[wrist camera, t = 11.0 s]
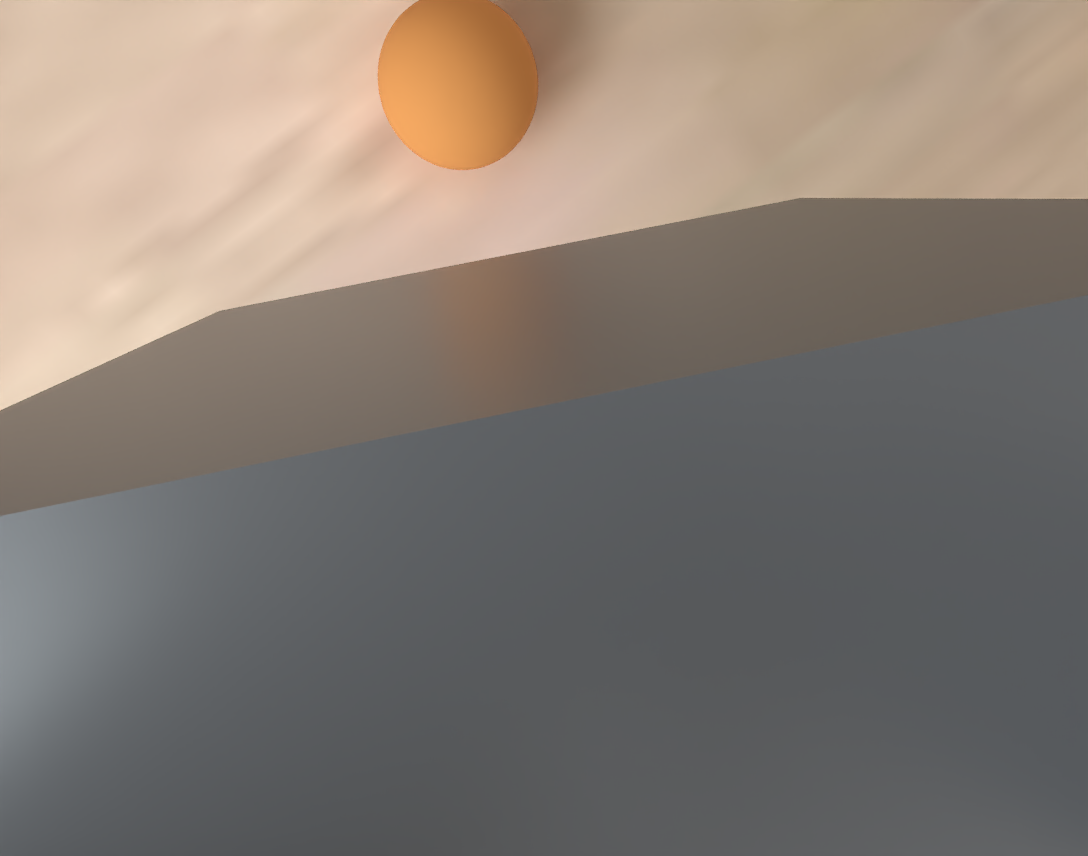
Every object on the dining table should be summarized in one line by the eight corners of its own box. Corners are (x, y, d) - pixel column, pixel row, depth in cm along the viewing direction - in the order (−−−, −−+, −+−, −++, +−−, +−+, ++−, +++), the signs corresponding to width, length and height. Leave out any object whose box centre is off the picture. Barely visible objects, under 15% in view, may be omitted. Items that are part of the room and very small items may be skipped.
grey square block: (823, 668, 15) (1239, 1223, 7) (375, 767, 15) (257, 1480, 7) (800, 198, 12) (1550, 199, 4) (220, 311, 12) (-420, 601, 3)
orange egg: (517, -65, 20) (524, 65, 25) (347, -35, 20) (387, 90, 24) (553, 79, 19) (552, 185, 23) (371, 111, 18) (409, 212, 23)
